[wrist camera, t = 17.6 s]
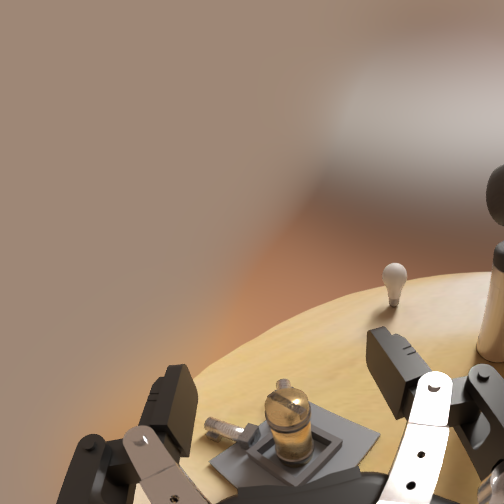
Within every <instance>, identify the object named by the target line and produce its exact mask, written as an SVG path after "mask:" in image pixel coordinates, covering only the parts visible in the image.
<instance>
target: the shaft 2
mask: <svg viewBox="0 0 504 504" xmlns="http://www.w3.org/2000/svg"><path fill="white" fill-rule="evenodd" d="M276 388H277V390H280V389H284V388H293V387H291V384H290V381H289V380H288V379H280V380H278V381H277V383H276ZM277 390H275V391H277Z"/></svg>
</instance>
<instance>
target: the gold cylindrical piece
mask: <svg viewBox="0 0 504 504" xmlns="http://www.w3.org/2000/svg"><path fill="white" fill-rule="evenodd" d="M265 417H266V420H267V424H268V426H269V427H270V428H271V431H272V435H273V438H274V442H275V451H276V455H277V457H278V459H279V460H280V461H281V463H282V464H283V465H285V466H287V467H290V468H298V467H302V466H304V465H306V464H307V463H309V462H310V460H311V459H312V457H313V452H314V441H313V439H312V434H311V424H310V420H311V406H310V403H309V402H308V397H307V395H306V394H305V393H304V392H303V391H301V390H299V389H295V388H284V389H280V390H277V391H275V392H274V391H273V392H272V393H271V394H269V395H268V396H267V399H266V401H265Z"/></svg>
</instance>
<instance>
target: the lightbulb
mask: <svg viewBox="0 0 504 504" xmlns="http://www.w3.org/2000/svg"><path fill="white" fill-rule="evenodd" d="M382 279H383V282H384V284H385V286H386V288H387V290H388V297H389V304H390V305H391V306H393V307H394V306H397V305H398V304H399V297H400V295H401V290H402V288H403V286H404V284H405V282H406V280H407V272H406V270H405V268H404V267H403V266H402V265H400V264H398V263H392V264H389V265H388V266H387V267H386V268H385V269H384V271H383V276H382Z"/></svg>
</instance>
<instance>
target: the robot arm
mask: <svg viewBox="0 0 504 504" xmlns="http://www.w3.org/2000/svg"><path fill="white" fill-rule="evenodd" d="M486 202H487V207H488V210H489V212H490V215H491V216H492V218H493V219H494V220H495V221H496V222H497V223H498V224H499V225H502V226H504V164H503V165H501V166H500V167H498V168H496V169H495V170H494V171H493V173H492V174H491V176H490V178H489V181H488V185H487V191H486ZM477 350H478V353H479V354H480V355H481V356H482V357H483V358H485V359H486V360H488V361H491V362H504V241H502V242H500V243H499V244H498V245H497V246H496V247H495V250H494V258H493V266H492V274H491V281H490V287H489V293H488V298H487V303H486V308H485V313H484V317H483V322H482V326H481V330H480V334H479V337H478V341H477ZM366 363H367V367H368V369H369V371H370V373H371V375H372V377H373V378H374V380H375V382H376V384H377V386H378V387H379V389H380V391H381V393H382V395H383V396H384V398H385V400H386V402H387V404H388V406H389V407H390V409H391V411H392V413H393V415H394V417H395V419H396V420H398V419H400V418H403V417H405V418H406V420H407V423H406V426H405V429H404V432H403V435H402V438H401V441H400V444H399V447H398V450H397V453H396V455H395V458H394V461H393V463H392V465H391V468H390V470H389V473H388V475H387V474H384V473H379V472H360V469H359V466H356V467H353V468H349V469H346V470H342V471H338V472H334V473H330V474H328V475H326V476H323V477H321V478H319V479H317V480H314V481H312V482H310V483H307V484H305V485H302V486H277V485H261V486H250V487H238V494H237V495H233V496H230V497H228V498H226V499H223V500H221V501H220V502H218V503H216V504H460V503H457V502H454V501H451V500H448V499H446V498H443V497H440V496H437V495H435V494H433V492H434V489H435V485H436V482H437V479H438V475H439V472H440V468H441V464H442V460H443V456H444V452H445V447H446V442H447V437H448V432H449V427H453V428H454V429H455V431H456V433H457V435H458V437H459V438H460V440H461V442H462V444H463V446H464V448H465V450H466V451H467V453H468V455H469V457H470V459H471V461H472V463H473V465H474V467H475V469H476V471H477V473H478V475H479V477H480V479H481V482H482V483H481V484H480V486H479V488H478V493H477V494H478V502H479V504H504V379H503V378H502V377H501V375H500V374H499V373H498V372H497V371H496V370H495V369H494V368H493V367H492V366H490V365H488V364H477V365H475V366H473V367H472V368H471V369H470V371H469V373H468V376H465V377H459V378H454V379H450V378H449V377H448V376H447V375H445V374H443V373H440V372H433V371H432V370H431V369H430V368H429V366H428V365H427V364H426V363H425V361H424V360H423V359H422V358H421V356H420V355H419V354H418V353H416V350H415V349H414V348H413V347H411V344H410V343H409V342H408V341H407V340H406V339H405V338H404V337H402V336H400V335H398V334H394V335H391V334H390V332H389V331H388V330H387V329H386V327H384V326H382V327H379V328H376V329H372V330H369V331H368V332H367V346H366ZM197 403H198V393H197V389H196V386H195V384H194V382H193V379H192V377H191V375H190V372H189V370H188V368H187V366H186V365H185V364H181V365H169V366H168V367H167V370H166V373H165V376H164V377H159V378H158V379H157V380H156V382H155V383H154V384H153V385H152V388H151V390H150V395H149V396H148V399H147V402H146V404H145V407H144V410H143V413H142V416H141V419H140V422H139V425H138V426H136V427H133V428H131V429H130V430H128V431H127V432H126V434H125V435H124V438H123V439H118V440H112V441H105V440H104V439H103V438H102V437H101V436H100V435H97V434H90V435H87V436H85V437H83V438H82V439H81V440H80V442H79V443H78V445H77V447H76V450H75V452H74V455H73V458H72V460H71V463H70V466H69V468H68V471H67V474H66V476H65V479H64V482H63V485H62V488H61V491H60V494H59V497H58V500H57V503H56V504H133V500H134V494H135V489H136V483H140V485H141V487H142V489H143V490H144V492H145V494H146V495H147V497H148V499H149V500H150V502H151V504H212V503H211V502H210V501H209V500H208V499H207V498H206V497H205V496H204V495H203V494H202V492H201V491H200V490H199V489H198V488H197V486H196V485H195V484H194V483H193V482H192V480H191V479H190V478H189V476H188V475H187V474H186V473H185V471H184V470H183V469H182V467H181V466H180V465H179V460H180V457H189V454H190V448H191V441H192V435H193V428H194V422H195V416H196V410H197Z"/></svg>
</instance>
